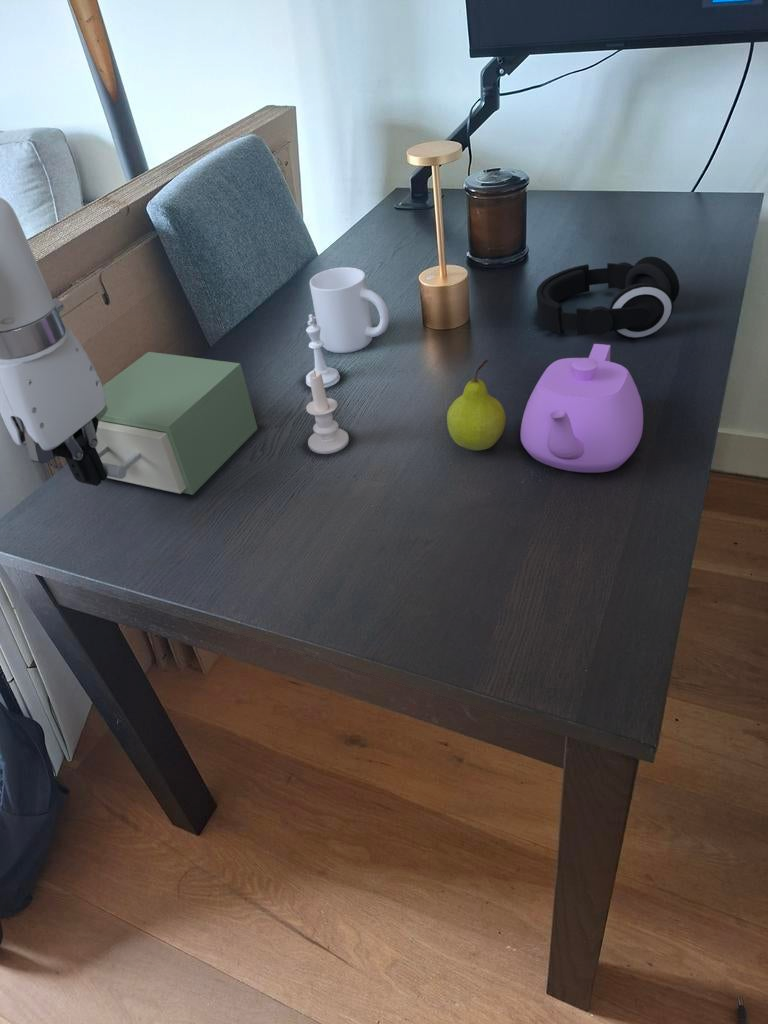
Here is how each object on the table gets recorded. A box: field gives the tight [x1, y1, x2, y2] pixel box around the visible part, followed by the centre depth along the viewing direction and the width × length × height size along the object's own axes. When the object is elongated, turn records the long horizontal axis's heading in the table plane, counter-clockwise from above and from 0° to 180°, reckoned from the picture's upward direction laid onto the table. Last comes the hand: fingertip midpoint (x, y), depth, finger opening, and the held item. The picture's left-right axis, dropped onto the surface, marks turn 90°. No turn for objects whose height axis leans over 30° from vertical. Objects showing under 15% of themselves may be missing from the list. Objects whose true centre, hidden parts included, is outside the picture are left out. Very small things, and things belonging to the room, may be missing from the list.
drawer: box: [95, 420, 186, 495], centre depth 93 cm, size 18×14×8 cm
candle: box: [305, 369, 350, 455], centre depth 93 cm, size 5×5×10 cm
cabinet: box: [101, 351, 259, 496], centre depth 96 cm, size 15×15×10 cm
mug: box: [309, 266, 390, 354], centre depth 114 cm, size 12×8×10 cm
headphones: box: [535, 255, 680, 339], centre depth 112 cm, size 18×8×20 cm
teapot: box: [519, 343, 644, 473], centre depth 86 cm, size 13×20×11 cm
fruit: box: [446, 359, 507, 452], centre depth 88 cm, size 7×7×12 cm
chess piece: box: [305, 313, 341, 389], centre depth 106 cm, size 5×5×10 cm
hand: (92, 479), depth 86 cm, fingers closed
